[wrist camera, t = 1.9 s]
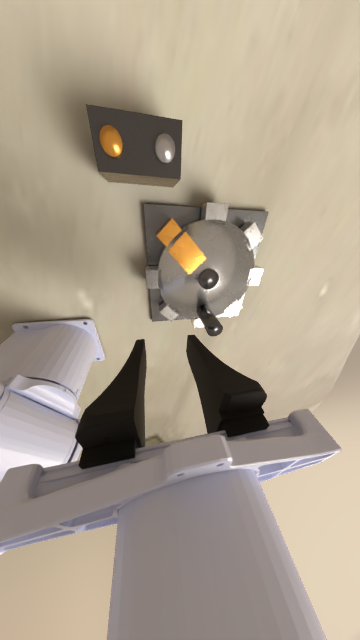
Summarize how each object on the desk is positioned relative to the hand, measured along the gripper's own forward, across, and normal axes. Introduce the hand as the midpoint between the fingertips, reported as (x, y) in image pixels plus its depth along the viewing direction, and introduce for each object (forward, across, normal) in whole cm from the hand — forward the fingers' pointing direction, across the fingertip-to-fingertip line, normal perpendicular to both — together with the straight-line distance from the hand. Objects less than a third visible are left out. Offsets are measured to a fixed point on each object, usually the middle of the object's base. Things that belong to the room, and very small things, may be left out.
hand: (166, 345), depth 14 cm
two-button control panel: (+10, +1, -14) cm, 17 cm away
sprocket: (+9, -6, -4) cm, 12 cm away
